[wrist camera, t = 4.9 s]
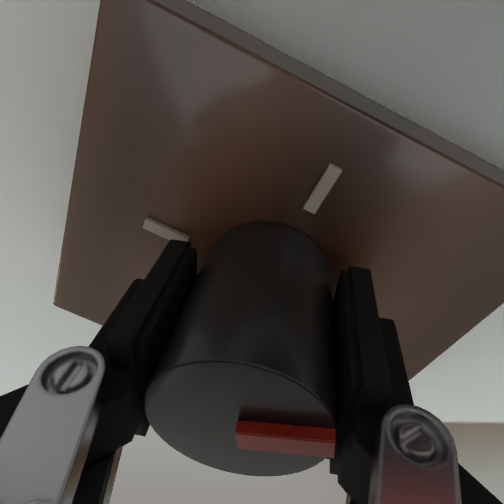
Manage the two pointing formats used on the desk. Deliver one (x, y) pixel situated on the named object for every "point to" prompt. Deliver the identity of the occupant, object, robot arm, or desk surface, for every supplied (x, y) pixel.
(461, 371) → the desk surface
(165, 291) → the robot arm
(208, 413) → the dimmer knob
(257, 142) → the dimmer panel
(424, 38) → the desk surface
